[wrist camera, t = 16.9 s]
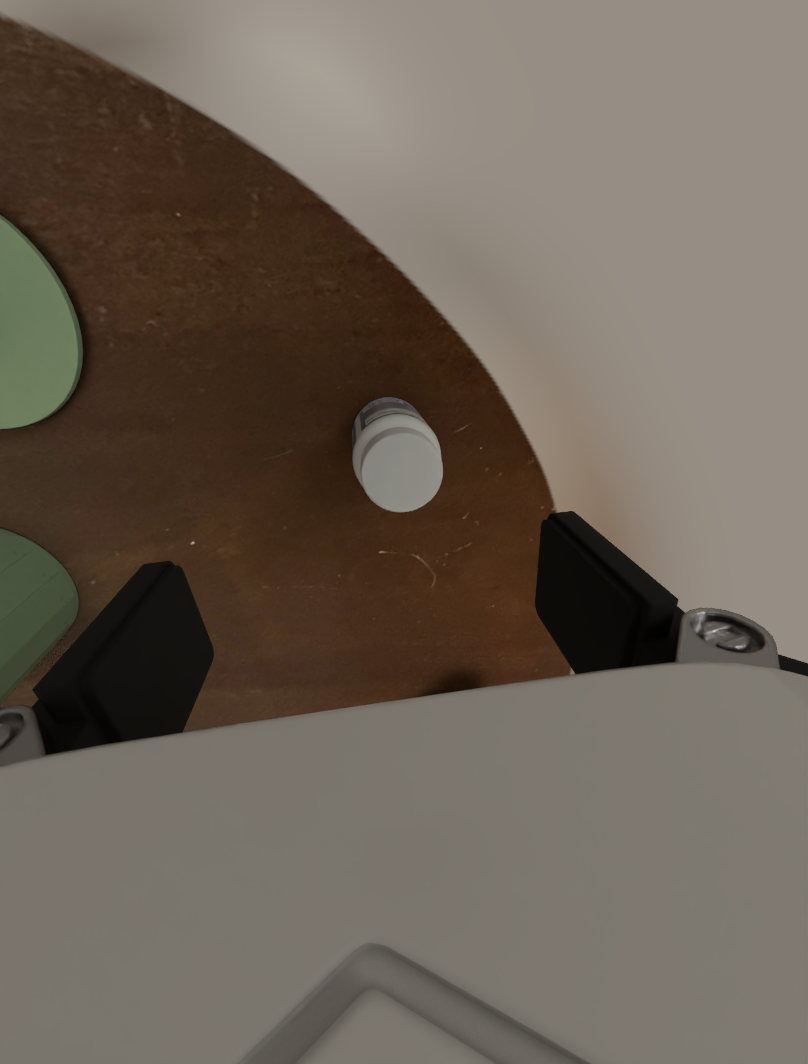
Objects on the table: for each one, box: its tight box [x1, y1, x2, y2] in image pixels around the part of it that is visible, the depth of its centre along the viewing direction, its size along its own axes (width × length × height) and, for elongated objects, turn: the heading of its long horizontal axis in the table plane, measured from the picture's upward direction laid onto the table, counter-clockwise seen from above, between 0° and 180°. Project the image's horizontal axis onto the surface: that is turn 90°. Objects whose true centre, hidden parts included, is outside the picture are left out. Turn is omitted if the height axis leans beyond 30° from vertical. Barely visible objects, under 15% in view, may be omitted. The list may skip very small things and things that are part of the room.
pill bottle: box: [352, 397, 443, 512], centre depth 23 cm, size 5×5×8 cm
